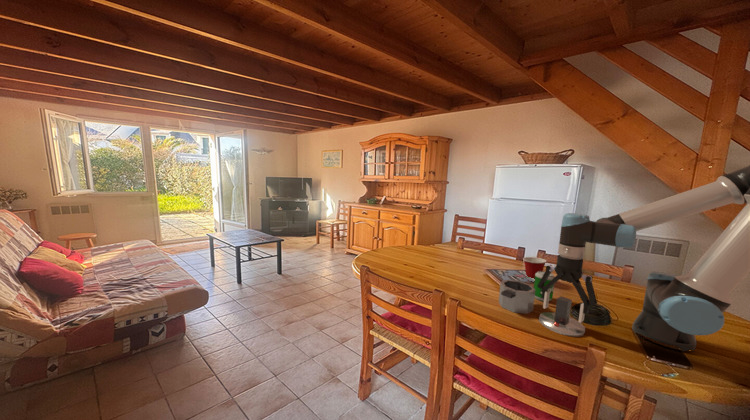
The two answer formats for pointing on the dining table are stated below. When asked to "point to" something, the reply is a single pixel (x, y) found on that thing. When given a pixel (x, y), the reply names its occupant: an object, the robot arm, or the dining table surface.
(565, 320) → the lid
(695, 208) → the robot arm
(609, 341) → the dining table surface
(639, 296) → the dining table surface
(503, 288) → the pot
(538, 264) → the plastic cup
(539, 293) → the soda can
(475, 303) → the dining table surface
